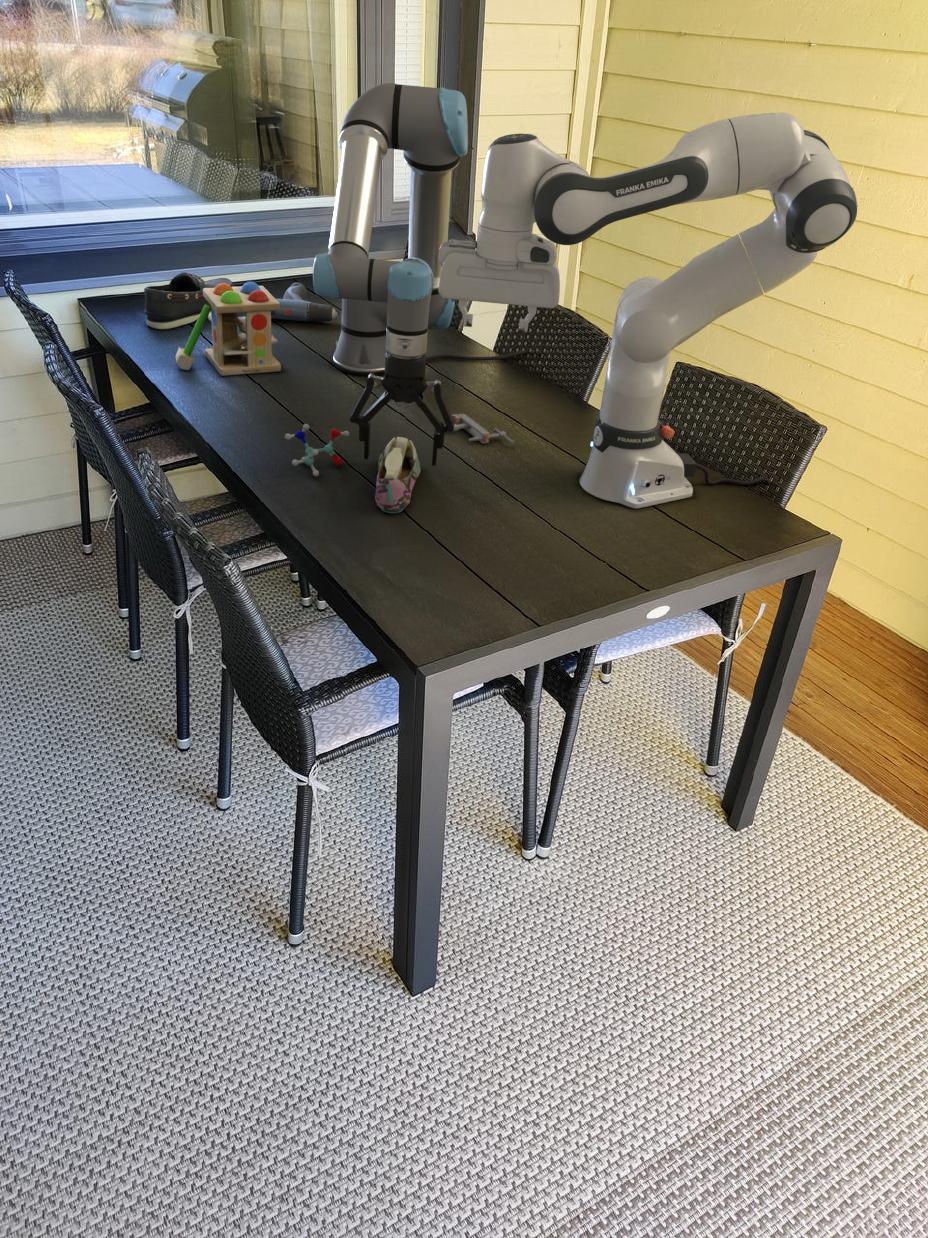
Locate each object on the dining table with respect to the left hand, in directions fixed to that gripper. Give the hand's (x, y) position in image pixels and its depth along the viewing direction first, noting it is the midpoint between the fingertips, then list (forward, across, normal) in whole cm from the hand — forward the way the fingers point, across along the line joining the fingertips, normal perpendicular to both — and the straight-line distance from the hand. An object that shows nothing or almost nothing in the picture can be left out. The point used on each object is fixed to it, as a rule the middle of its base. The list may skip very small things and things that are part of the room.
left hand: (400, 459), depth 192 cm
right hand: (-30, +16, -10) cm, 36 cm away
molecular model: (+2, -17, -3) cm, 17 cm away
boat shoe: (+2, -62, +82) cm, 103 cm away
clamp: (+2, +15, +19) cm, 24 cm away
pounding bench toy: (+2, -45, +46) cm, 65 cm away
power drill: (+2, -34, +90) cm, 97 cm away
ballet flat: (+2, 0, -8) cm, 8 cm away
